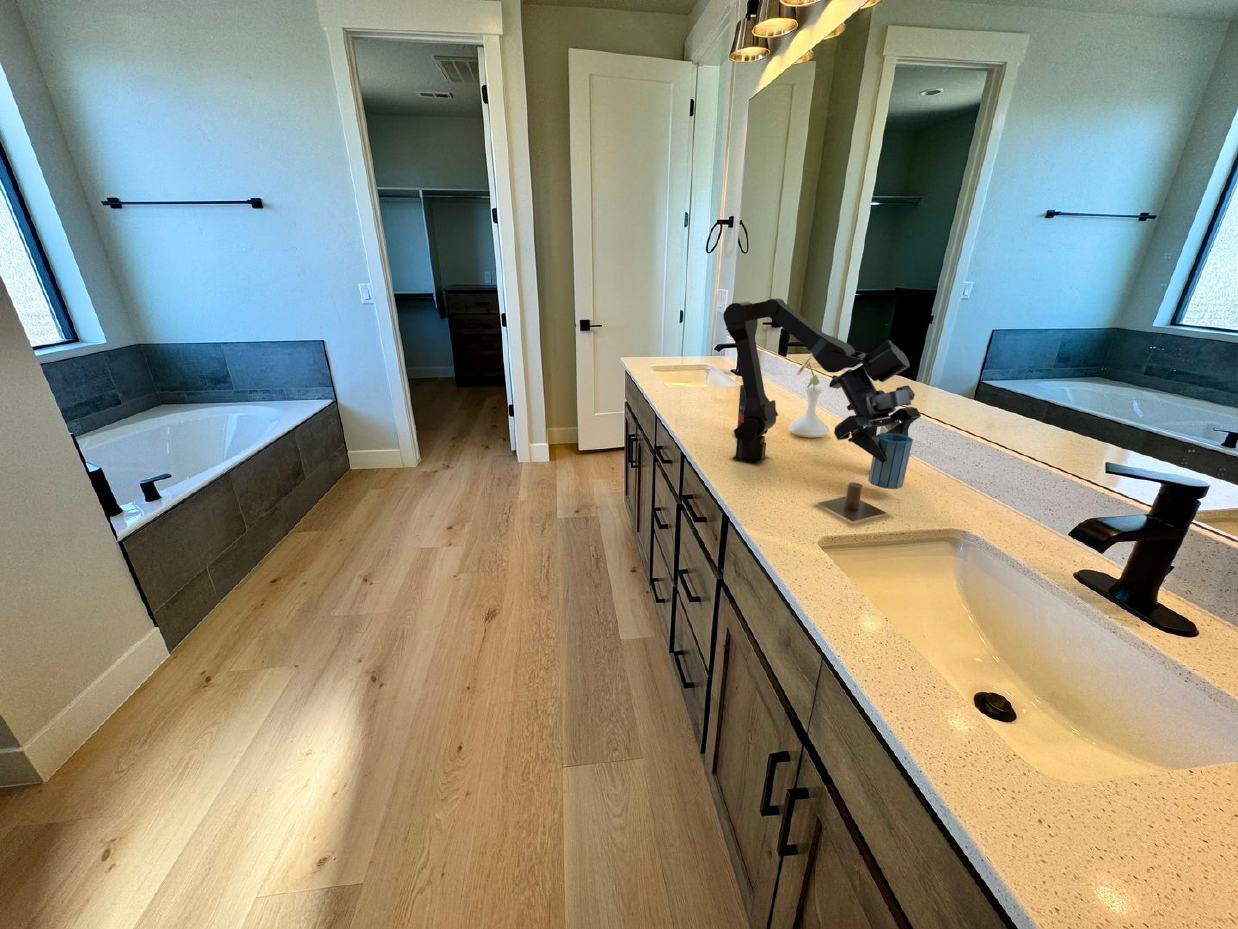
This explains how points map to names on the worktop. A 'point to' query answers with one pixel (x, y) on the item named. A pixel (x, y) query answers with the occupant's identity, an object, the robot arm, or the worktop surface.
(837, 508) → the walnut stand
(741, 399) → the deodorant
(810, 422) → the flower in vase
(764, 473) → the worktop surface
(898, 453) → the blue slatted cup
